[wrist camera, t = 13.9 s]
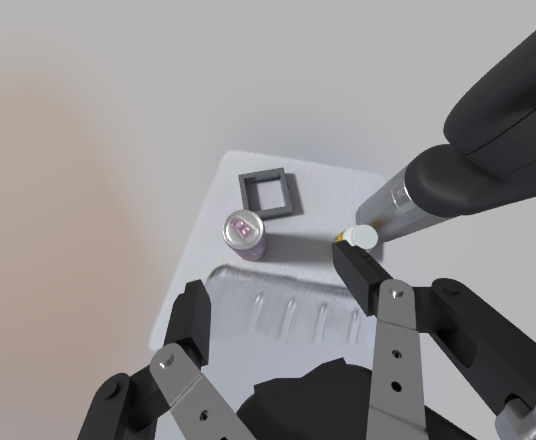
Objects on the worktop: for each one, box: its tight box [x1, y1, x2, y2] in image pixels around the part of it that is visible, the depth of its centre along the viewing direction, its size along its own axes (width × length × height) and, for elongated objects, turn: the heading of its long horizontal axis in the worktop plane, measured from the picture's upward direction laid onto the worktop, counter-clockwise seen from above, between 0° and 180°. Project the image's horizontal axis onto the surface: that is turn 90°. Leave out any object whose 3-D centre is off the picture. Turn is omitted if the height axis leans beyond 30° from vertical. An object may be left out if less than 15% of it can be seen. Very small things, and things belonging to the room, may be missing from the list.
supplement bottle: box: [333, 225, 378, 253], centre depth 40 cm, size 5×5×10 cm
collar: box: [238, 168, 293, 219], centre depth 46 cm, size 10×10×2 cm
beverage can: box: [223, 210, 267, 261], centre depth 37 cm, size 6×6×15 cm
